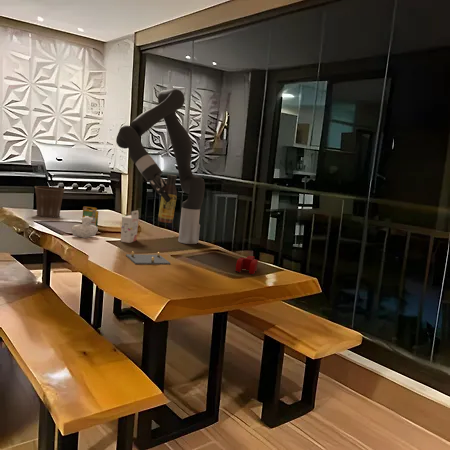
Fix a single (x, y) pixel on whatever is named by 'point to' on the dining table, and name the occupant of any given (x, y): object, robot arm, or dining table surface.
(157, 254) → the brass pins
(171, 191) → the sauce bottle
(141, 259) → the slate pad
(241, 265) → the mechanical linkage
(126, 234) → the ink cartridge box
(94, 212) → the crayon box
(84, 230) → the bust
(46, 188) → the plant pot
